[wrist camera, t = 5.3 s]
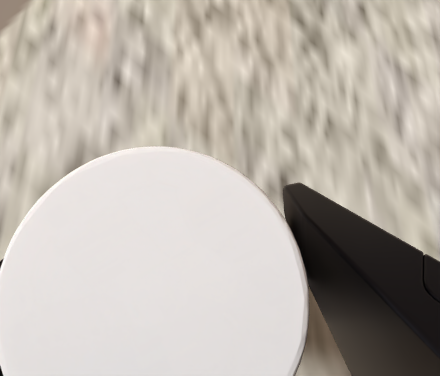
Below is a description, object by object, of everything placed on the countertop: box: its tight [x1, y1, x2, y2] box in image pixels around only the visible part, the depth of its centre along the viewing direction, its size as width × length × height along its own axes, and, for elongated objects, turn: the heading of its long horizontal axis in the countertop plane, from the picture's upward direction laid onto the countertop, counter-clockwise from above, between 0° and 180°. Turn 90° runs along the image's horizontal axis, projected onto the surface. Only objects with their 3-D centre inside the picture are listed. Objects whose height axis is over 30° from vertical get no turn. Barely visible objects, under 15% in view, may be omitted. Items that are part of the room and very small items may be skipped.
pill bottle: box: [0, 146, 309, 376], centre depth 10 cm, size 6×6×10 cm
